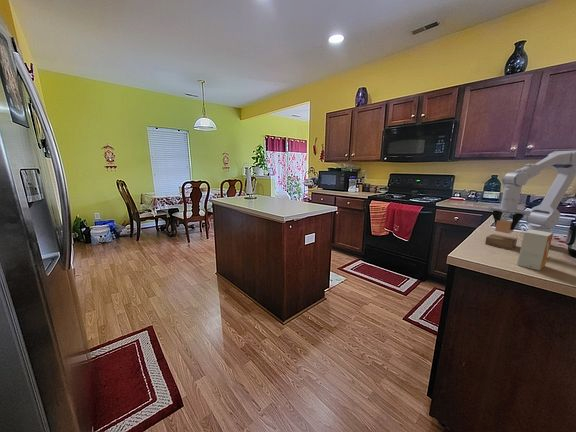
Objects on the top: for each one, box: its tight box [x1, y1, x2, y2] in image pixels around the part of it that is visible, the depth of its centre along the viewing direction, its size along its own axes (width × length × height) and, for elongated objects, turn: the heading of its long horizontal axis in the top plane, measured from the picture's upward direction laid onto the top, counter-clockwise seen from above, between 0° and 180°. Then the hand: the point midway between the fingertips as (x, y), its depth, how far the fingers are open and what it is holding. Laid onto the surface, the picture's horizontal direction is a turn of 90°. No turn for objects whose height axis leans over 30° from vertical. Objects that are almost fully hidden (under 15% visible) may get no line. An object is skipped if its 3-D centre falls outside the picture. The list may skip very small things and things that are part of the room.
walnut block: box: [484, 233, 518, 250], centre depth 112 cm, size 9×9×4 cm
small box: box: [516, 229, 554, 271], centre depth 88 cm, size 8×6×13 cm
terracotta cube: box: [494, 219, 514, 234], centre depth 110 cm, size 5×5×5 cm
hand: (504, 228), depth 110 cm, fingers closed on terracotta cube, 5 cm apart
